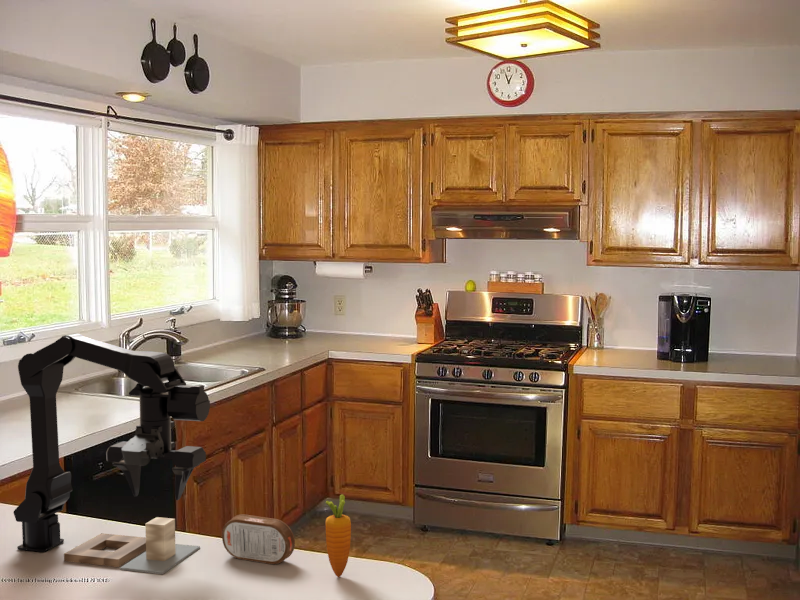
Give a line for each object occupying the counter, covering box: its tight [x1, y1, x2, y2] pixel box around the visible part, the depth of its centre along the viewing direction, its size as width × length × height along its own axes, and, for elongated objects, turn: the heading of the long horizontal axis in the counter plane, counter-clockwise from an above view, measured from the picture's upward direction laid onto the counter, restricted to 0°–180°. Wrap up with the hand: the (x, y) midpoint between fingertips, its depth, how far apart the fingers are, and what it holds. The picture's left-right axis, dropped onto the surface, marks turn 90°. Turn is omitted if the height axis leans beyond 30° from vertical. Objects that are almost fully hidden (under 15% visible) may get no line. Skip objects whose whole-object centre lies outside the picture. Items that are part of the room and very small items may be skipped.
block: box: [144, 516, 176, 561], centre depth 164 cm, size 4×4×7 cm
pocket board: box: [63, 532, 146, 568], centre depth 168 cm, size 12×12×2 cm
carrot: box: [325, 494, 352, 578], centre depth 154 cm, size 5×5×15 cm
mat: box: [119, 543, 201, 575], centre depth 165 cm, size 9×14×1 cm, turn 165°
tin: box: [221, 513, 296, 565], centre depth 163 cm, size 15×3×8 cm, turn 69°
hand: (156, 497), depth 165 cm, fingers open, 9 cm apart
